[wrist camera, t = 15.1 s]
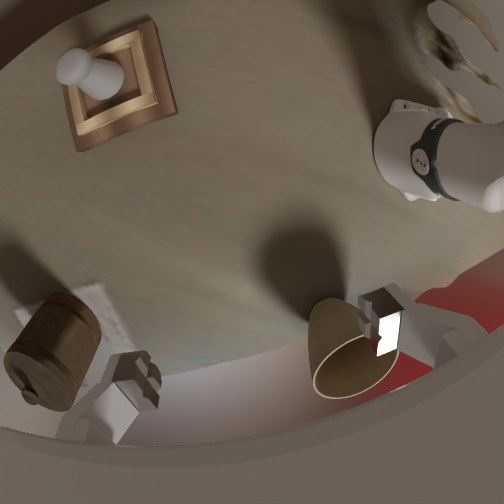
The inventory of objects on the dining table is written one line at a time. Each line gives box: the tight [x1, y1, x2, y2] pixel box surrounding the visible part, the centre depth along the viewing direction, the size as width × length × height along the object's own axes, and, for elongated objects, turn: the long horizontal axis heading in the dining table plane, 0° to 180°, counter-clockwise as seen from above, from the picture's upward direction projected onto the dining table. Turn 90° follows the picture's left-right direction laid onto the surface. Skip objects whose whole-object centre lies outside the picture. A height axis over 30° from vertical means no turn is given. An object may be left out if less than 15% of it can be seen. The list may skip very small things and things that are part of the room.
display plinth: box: [62, 20, 178, 152], centre depth 30 cm, size 16×16×5 cm
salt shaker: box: [55, 48, 124, 100], centre depth 23 cm, size 6×6×13 cm
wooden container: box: [4, 294, 101, 412], centre depth 37 cm, size 15×15×22 cm
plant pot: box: [308, 298, 399, 399], centre depth 45 cm, size 15×15×16 cm
